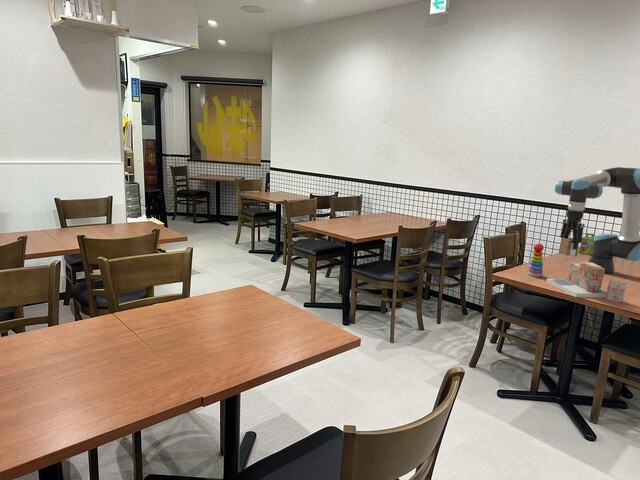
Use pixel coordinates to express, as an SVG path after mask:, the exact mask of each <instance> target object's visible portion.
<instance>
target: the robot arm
mask: <svg viewBox="0 0 640 480" xmlns="http://www.w3.org/2000/svg"><path fill="white" fill-rule="evenodd" d="M606 187H609V188H617V189H620V193H621V194H622V196H623V200H622V201H623V202H622V203H623V204H622V214H621V215H622V216H621V217H622V218H621V230H620V234H619V235H618V234H615V233H596V234H595V235H594V238H595V239H594V244H593V249H592V254H591V255H590V258H589V260H588V261H587V262H592V263H594V264H596V265H598V266H600V267H602V268H604V269H605V271H604V274H614V273H615V265H614V258H618V259H622V260H626V261H631V262H637V261H640V168H639V167H621V166H619V167H611V168H606V169H602V170H599V171H597V172H595V173H593V174H589V175H587V176H583V177H579V178H575V179H571V180H559V181H557V182H556V183H555V186H554V192H555V194H557V195H561V196H569V200H568V204H567V205H568V206H567V210H566V217H567V219H563V220H562V227H561V230H560V231H561V232H560V235H559V237H560V239H561V238H570V235H571V232H572V238H573V242H572V243H571V248H570V254H569V255H568V256H570V255H575V253H576V249H577V245H578V243H579V244H581V242H582V237H583V235H584V234H583V232H584V229H585V227H586V226H585V223H582V219H583V218H584V213H585V212H584V211H585V210H586V203H587V199H592V200H594V199H598V198H600V197H601V196H602V195H603V191H604V189H603V188H606ZM575 240H576V241H575Z"/></svg>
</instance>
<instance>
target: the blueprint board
mask: <svg viewBox="0 0 640 480" xmlns="http://www.w3.org/2000/svg"><path fill="white" fill-rule="evenodd" d="M545 282H546V283H547V284H549V285H551V286H553V287H555V288H557V289H558V290H561V291H563V292H565V293H567V294H568V295H571V296H573V297H574V298H599V299H601V298H605V299H606V293H607V291H604V290H602V289H600V292H594V291H587V290H585V289H584V288H582V287H581V286H579V285H578V284H576V283H575V282H573V281H572V280H570V279H569V278H546V281H545Z"/></svg>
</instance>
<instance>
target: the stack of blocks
mask: <svg viewBox="0 0 640 480" xmlns="http://www.w3.org/2000/svg"><path fill="white" fill-rule="evenodd" d="M569 267H570V268H569V276H568V279H570V280H572V281H573V282H575V283H576V284H578V285H579V286H581V287H582V288H584V289H585V290H587V291H594V292H600V290H602V289H601V288H602V283H603V279H604V274H605V273H604V271H605V269H604V268H602V267H600V266H598V265H596V264H594V263H592V262H588V261H580V263H579V262H571V263H570V266H569Z"/></svg>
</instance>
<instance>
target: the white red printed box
mask: <svg viewBox="0 0 640 480" xmlns="http://www.w3.org/2000/svg"><path fill="white" fill-rule="evenodd" d="M626 287H627V282H625V281H619V280H614V279H609V281H608V285H607V289H606V298H605V301H608V302H609V301H610V302H613V303H621V304H623V302H624V298H625V292H626Z"/></svg>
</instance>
